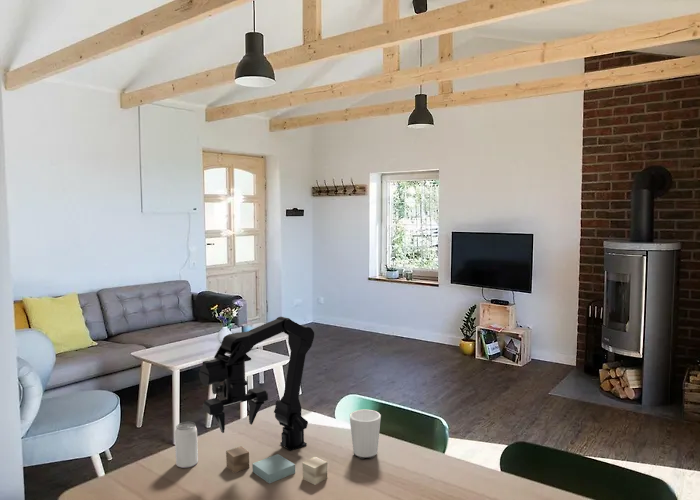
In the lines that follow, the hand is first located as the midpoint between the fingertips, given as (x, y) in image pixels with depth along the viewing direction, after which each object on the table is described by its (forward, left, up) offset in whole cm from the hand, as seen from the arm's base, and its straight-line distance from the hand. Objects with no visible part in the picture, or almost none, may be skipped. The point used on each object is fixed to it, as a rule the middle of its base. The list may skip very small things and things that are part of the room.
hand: (237, 428), depth 161 cm
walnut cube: (0, 0, -12) cm, 12 cm away
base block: (-7, +10, -13) cm, 17 cm away
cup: (-35, +18, -12) cm, 41 cm away
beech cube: (-14, +20, -12) cm, 28 cm away
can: (+11, -12, -12) cm, 20 cm away
